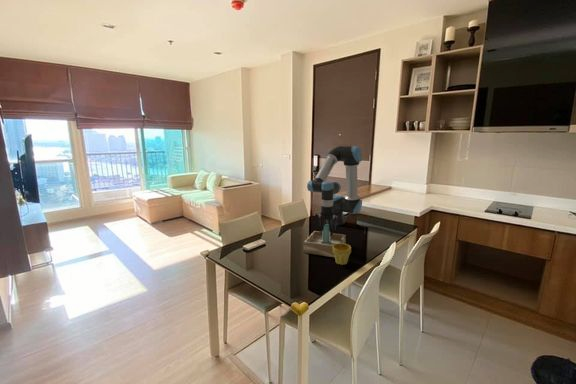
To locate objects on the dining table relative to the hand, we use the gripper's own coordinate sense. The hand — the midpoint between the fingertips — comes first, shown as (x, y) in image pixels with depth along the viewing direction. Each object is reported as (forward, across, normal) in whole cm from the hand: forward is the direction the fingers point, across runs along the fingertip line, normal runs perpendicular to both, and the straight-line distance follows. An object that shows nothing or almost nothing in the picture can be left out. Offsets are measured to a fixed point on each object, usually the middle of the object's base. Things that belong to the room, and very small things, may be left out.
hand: (326, 240), depth 181 cm
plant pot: (+5, +14, -19) cm, 24 cm away
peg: (+2, 0, 0) cm, 2 cm away
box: (+5, 0, -3) cm, 6 cm away
